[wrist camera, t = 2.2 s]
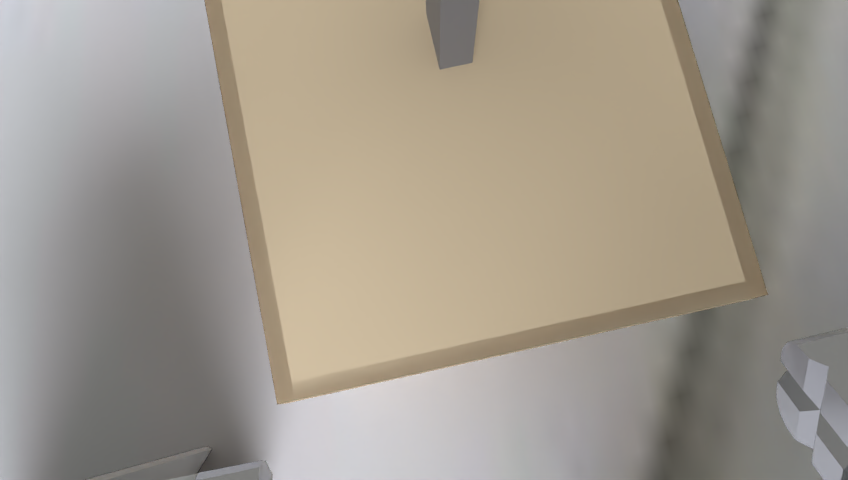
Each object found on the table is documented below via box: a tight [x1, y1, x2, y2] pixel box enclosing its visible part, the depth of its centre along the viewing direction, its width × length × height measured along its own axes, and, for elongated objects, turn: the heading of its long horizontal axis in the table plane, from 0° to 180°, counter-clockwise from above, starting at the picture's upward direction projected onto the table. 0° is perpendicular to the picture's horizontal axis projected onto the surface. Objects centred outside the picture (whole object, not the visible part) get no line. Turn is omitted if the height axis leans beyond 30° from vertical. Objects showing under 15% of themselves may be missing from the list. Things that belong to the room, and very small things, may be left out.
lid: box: [205, 0, 768, 404], centre depth 34 cm, size 20×22×9 cm
